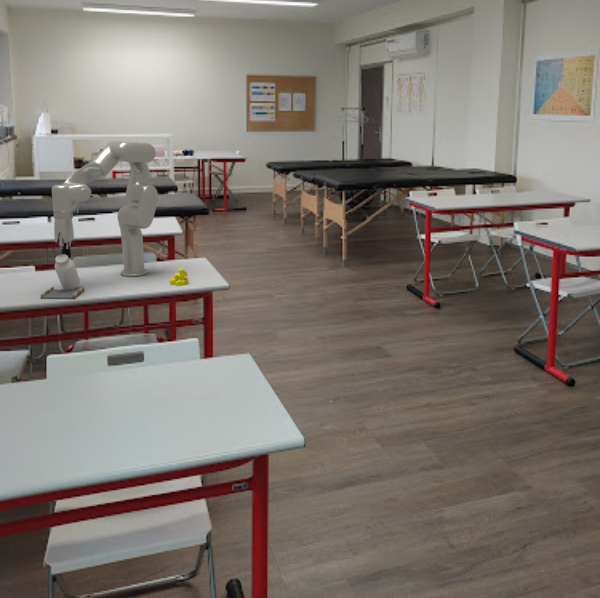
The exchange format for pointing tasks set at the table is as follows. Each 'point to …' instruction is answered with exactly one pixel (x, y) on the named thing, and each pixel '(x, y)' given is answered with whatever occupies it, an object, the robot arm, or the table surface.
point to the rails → (53, 289)
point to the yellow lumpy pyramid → (179, 278)
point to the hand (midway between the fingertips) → (66, 258)
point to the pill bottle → (66, 272)
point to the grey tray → (61, 294)
